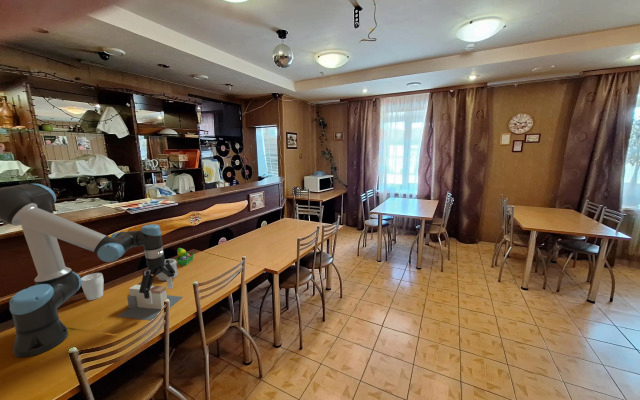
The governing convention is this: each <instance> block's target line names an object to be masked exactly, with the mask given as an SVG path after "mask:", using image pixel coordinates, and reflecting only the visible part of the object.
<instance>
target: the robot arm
mask: <svg viewBox="0 0 640 400" xmlns="http://www.w3.org/2000/svg"><path fill="white" fill-rule="evenodd" d="M56 201H57V196H56V193H55V191H53V190H52V189H51V188H50V187H48V186H46V185H44V184H40V183H24V184H19V185H12V186H3V187H0V221H2V222H4V223H7V224H9V225H12V226H16V227H17V226H21V229H22V231H23V234H24V235H23V236H24V238H25V241H26V243H27V246H28V250H29V252H30V255H31V257H32V258H31V259H32V261H33V264H34V267H35V270H36V272H37V275H36V277H35V278H34V284H35V285H31V286H29V287H28V288H24V289H21V290H19V291H18V292H16V293H15V294H14V295H13V296H12V297H10V299H9V302H8V303H9V312H10V313H11V317H12V321H13V325H14V328H15V333H16V336H15V339H14V343H13V347H12V350H13V356H14V357H16V358H27V357H33V356H36V355H39V354H42V353H45V352H46V351H47V352H48V351H49V350H51V349H53V348H56V347H57V346H58V345H60V344H62V343H63V342H64V341H65V340H66V339H67V337H68V336H69V332H68V331H69V330H68V328H67V326H66V325H65V324H64V323H63V322H62V320H61V319H60V317H59V312H58V308H59V307H61V306H62V305H63V304H64V303H66V301H68V300H69V299H71V298H72V297H74V295H76V293H77V292H78V291H79V290H80V288H81V287H82V286H81V278H82V277H81V276H80V275H79V274H78V273H76V272H75V271H73V270H72V268H70V267H67V266H66V264H65V261H64V257H63V253H62V251H61V248H60V244H59V242H58V240H61V241H63V242H67V243H69V244H71V245H74V246H77V247H79V248H83V249H85V250H88V251H90V252H92V253H96V254H97V258H99V260H100V261H103V262H105V263H111V262H115V261H116V260H118V259H119V258H121V257H122V256H123V255H125V253H127V252H128V251H129V250H130V249H132V248H136V247H143V251H144V256H145V261H146V262H145V263H146V264H145V265H146V266H147V267H148V269H147V270H143V271H142V278H141V281H140V282H141V286H140V290H139V293H144V297H145V299H146V304H152V303H153V301H152V295H151V291H149V290H150V288H151V285H152V283H153V284H154V280H155V278H157V276H158V274H159V273H161V272H162V273H164V274H165V275H167V276H168V277H166V280H165V281H166V288H167V289H168V290H170V289H171V290H172V289H174V282H173V281H174V278H173V277H172V276H174V273H175V271H174V269H173V268H172V266H171V265H170V263H169V260H166V259H165V254H164V246H163V238H162V237H163V236H162V230H161V226H160V225H159V224H157V223H156V224H155V223H153V224H152V223H151V224H146V225H143V226H142V227H141V228H140V230H130V231H118V232H114V233H112V234H111V236H108V235H106V234H103V233H101V232H98V231H96V230H94V229H91V228H88V227H86V226H83V225H81V224H78V223H76V222H74V221H71V220H68V219H66V218H64V217H61V216H59V215H56V214H55V211H54V208H53V206H54V205H55V203H56ZM164 266H165V267H166V268H164ZM166 269H167V270H166ZM156 275H157V276H156ZM146 289H147V290H146Z"/></svg>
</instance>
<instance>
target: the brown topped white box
mask: <svg viewBox="0 0 640 400" xmlns="http://www.w3.org/2000/svg"><path fill="white" fill-rule="evenodd" d="M149 291H151V295H152V301H153V303H152V304H151V308H153V309H162V307H163V305H164V301H165V300H166V299H167V295H168V294H167V286H161V285H154V287H153V288H151V289H150V290H149Z"/></svg>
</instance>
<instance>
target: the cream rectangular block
mask: <svg viewBox="0 0 640 400" xmlns="http://www.w3.org/2000/svg"><path fill="white" fill-rule="evenodd" d="M137 284H138V283H137ZM137 284H133V286H131V287H129V289H128V291H129V295H128V296H126V299H127V304H128V309H129V308H135V309H136V308H137V307H141V308H150V309H151V304H146V299H145V297H144V293H139V290H140V286H141V285H137ZM154 286H155V285H154ZM154 286H151V288H153V287H154ZM151 288H150V289H151ZM146 290H147V289H146Z"/></svg>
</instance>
